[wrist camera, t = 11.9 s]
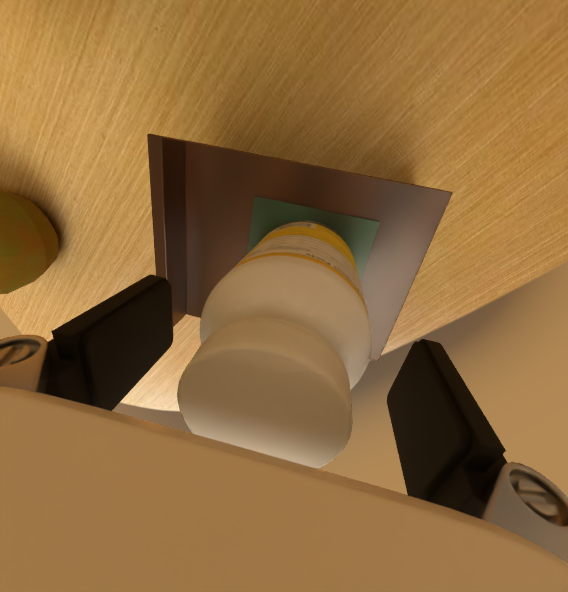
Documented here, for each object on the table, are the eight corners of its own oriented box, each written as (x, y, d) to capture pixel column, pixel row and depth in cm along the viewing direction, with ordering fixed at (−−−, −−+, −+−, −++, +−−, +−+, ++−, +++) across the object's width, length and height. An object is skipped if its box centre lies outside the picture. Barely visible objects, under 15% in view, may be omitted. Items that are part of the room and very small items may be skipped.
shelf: (415, 184, 20) (474, 196, 12) (367, 313, 26) (383, 385, 17) (220, 146, 21) (146, 133, 13) (213, 278, 27) (159, 328, 19)
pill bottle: (282, 323, 19) (222, 502, 9) (238, 243, 17) (94, 359, 7) (369, 292, 17) (424, 484, 7) (331, 197, 15) (328, 264, 5)
